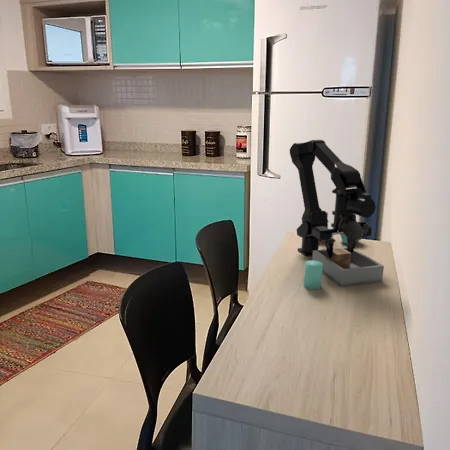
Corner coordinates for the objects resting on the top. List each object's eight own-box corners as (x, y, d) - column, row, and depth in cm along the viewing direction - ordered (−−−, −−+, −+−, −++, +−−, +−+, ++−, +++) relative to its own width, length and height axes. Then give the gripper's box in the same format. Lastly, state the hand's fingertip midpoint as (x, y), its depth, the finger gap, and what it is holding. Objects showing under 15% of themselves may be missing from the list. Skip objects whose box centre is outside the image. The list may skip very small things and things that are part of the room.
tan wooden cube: (336, 269, 141) (337, 254, 139) (328, 263, 145) (329, 249, 144) (349, 267, 142) (351, 253, 141) (341, 262, 147) (342, 248, 145)
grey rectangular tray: (311, 264, 146) (312, 250, 145) (348, 260, 151) (350, 246, 149) (341, 286, 130) (343, 270, 129) (382, 281, 134) (383, 265, 133)
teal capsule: (300, 283, 132) (302, 261, 130) (315, 281, 133) (317, 259, 131) (308, 290, 127) (310, 267, 125) (324, 288, 129) (326, 265, 127)
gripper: (331, 218, 128) (327, 268, 133) (385, 214, 134) (380, 262, 138) (312, 209, 138) (309, 256, 143) (364, 205, 144) (359, 250, 148)
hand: (339, 256), depth 143 cm, fingers open, 6 cm apart
